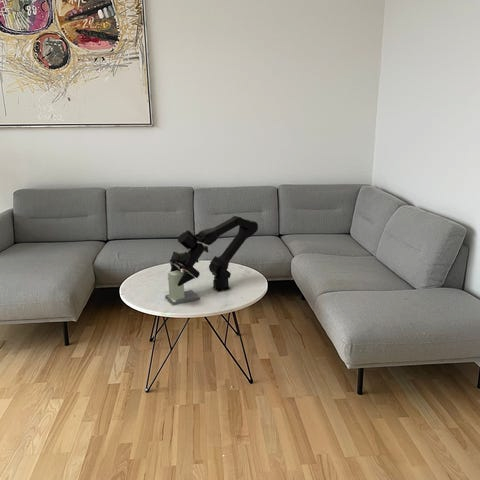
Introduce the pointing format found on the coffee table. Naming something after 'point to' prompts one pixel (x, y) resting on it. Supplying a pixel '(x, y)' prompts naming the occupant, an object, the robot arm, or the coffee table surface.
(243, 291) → the coffee table surface
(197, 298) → the board
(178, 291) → the sage block
